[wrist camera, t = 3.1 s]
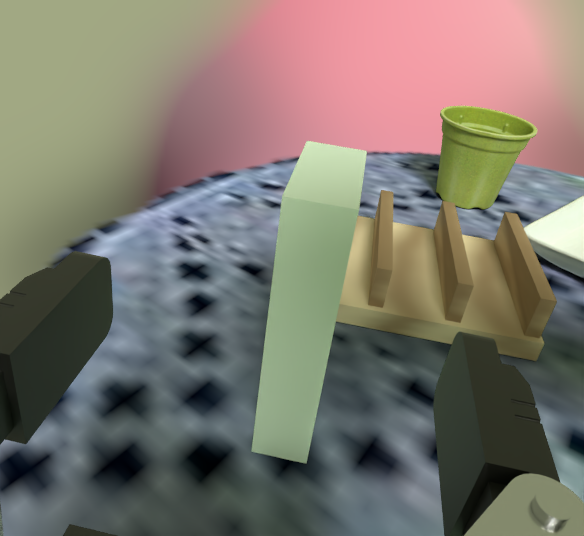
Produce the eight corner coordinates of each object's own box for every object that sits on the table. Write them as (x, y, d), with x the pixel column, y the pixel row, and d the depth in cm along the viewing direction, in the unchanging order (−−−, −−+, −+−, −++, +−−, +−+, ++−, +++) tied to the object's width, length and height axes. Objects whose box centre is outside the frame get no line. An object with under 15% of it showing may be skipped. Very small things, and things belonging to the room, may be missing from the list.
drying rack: (500, 257, 48) (518, 211, 45) (536, 360, 36) (562, 306, 33) (312, 222, 49) (319, 176, 46) (285, 311, 37) (293, 255, 35)
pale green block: (321, 374, 32) (366, 151, 25) (306, 463, 27) (358, 209, 19) (275, 365, 32) (307, 140, 25) (251, 451, 27) (282, 196, 19)
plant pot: (494, 228, 53) (525, 142, 48) (406, 196, 57) (427, 115, 52) (517, 200, 60) (546, 123, 55) (437, 174, 64) (458, 100, 59)
